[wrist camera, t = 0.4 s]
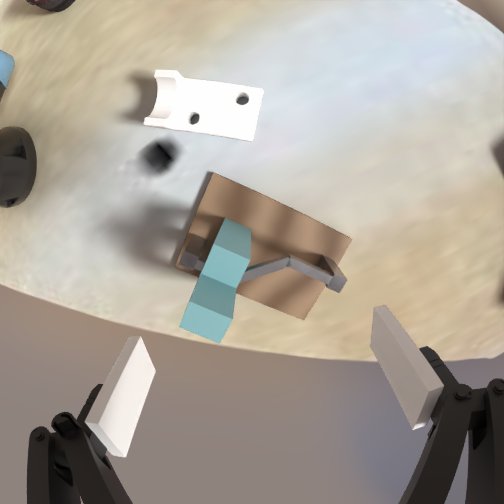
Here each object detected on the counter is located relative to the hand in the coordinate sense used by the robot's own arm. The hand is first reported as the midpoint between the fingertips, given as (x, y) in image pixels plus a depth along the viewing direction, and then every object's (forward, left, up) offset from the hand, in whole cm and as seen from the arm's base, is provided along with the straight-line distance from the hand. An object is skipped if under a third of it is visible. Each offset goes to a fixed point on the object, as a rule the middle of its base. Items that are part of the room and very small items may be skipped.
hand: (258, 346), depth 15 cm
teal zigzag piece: (-2, -6, -27) cm, 28 cm away
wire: (+3, -3, -28) cm, 28 cm away
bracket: (-12, +12, -28) cm, 33 cm away
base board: (+3, -3, -28) cm, 28 cm away
